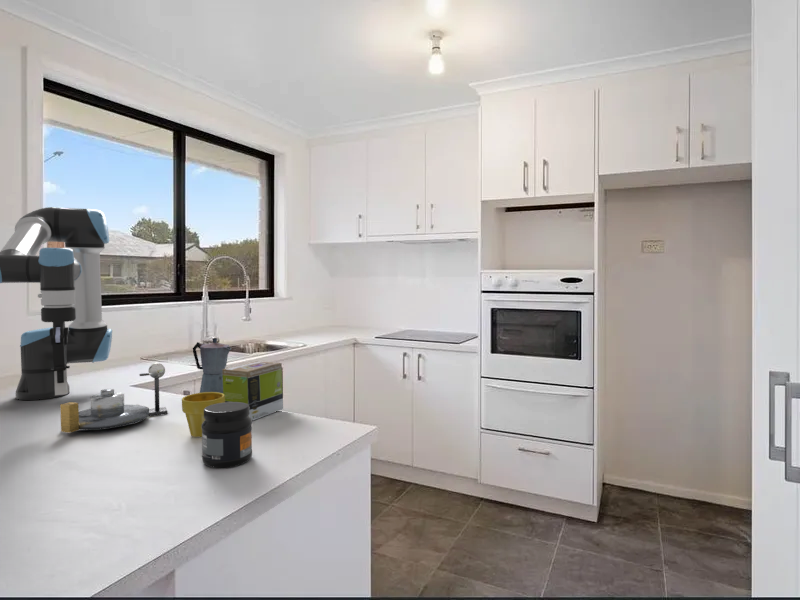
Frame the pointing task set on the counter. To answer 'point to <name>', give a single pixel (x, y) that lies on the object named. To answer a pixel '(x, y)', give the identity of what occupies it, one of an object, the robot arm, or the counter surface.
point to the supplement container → (226, 434)
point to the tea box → (255, 387)
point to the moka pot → (212, 365)
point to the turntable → (84, 421)
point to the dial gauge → (156, 387)
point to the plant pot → (199, 409)
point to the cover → (107, 404)
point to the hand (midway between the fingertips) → (61, 394)
